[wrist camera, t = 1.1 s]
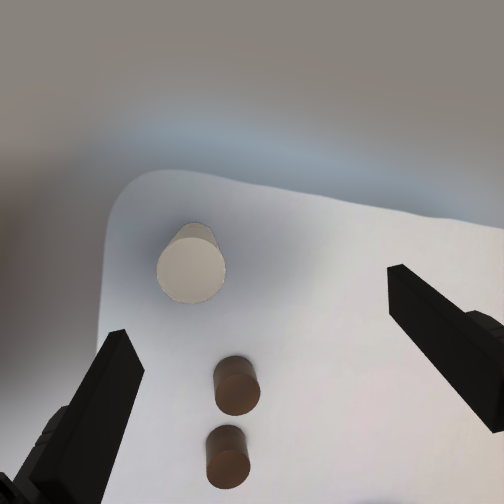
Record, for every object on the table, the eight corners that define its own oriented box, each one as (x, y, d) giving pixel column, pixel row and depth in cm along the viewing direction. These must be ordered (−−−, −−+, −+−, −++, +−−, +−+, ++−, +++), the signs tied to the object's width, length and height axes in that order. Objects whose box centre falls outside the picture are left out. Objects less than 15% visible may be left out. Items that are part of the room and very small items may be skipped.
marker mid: (204, 376, 36) (205, 397, 32) (235, 347, 36) (239, 365, 32) (233, 401, 37) (236, 424, 34) (262, 373, 38) (269, 393, 34)
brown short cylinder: (197, 445, 38) (197, 473, 34) (226, 417, 38) (229, 442, 34) (224, 467, 39) (227, 497, 35) (253, 440, 39) (259, 466, 35)
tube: (167, 245, 33) (141, 278, 19) (191, 214, 33) (184, 223, 18) (198, 268, 34) (198, 316, 20) (222, 238, 34) (239, 264, 19)
